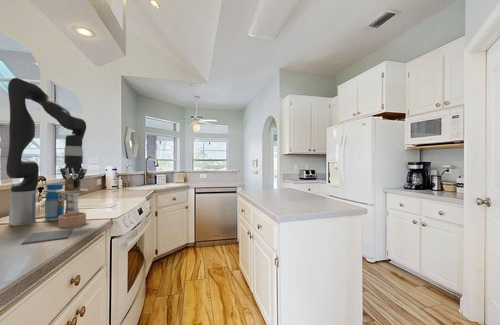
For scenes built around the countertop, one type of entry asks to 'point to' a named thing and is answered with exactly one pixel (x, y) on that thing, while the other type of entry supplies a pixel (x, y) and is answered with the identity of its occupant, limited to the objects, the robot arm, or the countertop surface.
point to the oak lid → (71, 187)
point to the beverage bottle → (54, 202)
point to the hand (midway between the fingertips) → (73, 187)
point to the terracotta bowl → (72, 219)
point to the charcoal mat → (48, 236)
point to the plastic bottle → (71, 202)
